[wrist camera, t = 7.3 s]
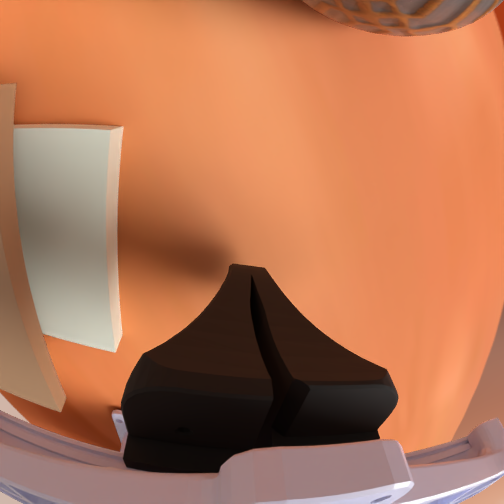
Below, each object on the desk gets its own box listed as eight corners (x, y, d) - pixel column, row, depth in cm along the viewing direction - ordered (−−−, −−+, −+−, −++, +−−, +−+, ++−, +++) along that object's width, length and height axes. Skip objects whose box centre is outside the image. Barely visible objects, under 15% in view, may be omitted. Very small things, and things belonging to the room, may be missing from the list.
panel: (124, 328, 15) (115, 352, 13) (-4, 295, 14) (-19, 312, 12) (128, 125, 10) (110, 130, 9) (-26, 125, 9) (-49, 133, 8)
